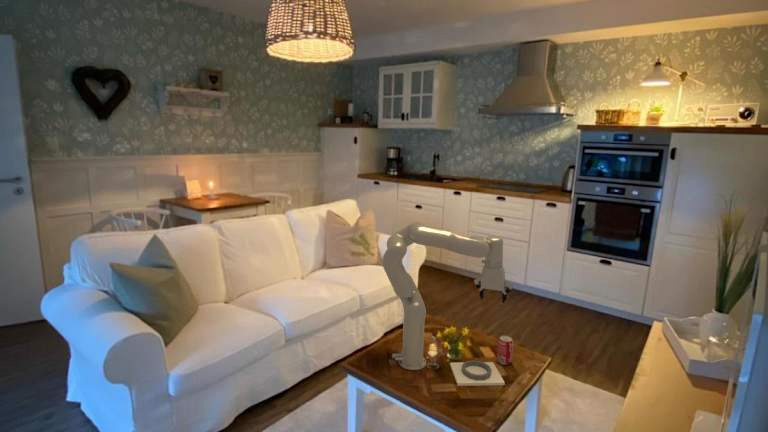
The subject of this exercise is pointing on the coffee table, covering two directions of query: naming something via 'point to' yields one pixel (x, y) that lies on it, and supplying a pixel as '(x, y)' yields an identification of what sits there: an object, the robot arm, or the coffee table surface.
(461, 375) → the collar board
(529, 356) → the coffee table surface
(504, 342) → the soda can
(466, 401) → the coffee table surface
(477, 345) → the coffee table surface
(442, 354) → the coffee table surface
